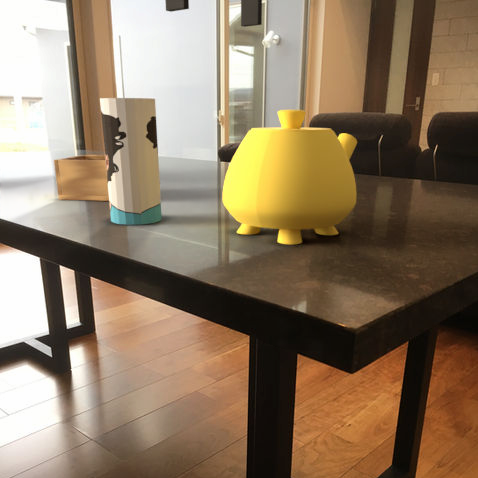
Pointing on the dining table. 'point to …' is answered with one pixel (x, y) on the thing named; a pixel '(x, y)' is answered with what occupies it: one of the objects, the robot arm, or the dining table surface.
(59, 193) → the box
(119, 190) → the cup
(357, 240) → the dining table surface
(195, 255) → the dining table surface
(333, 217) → the teapot
